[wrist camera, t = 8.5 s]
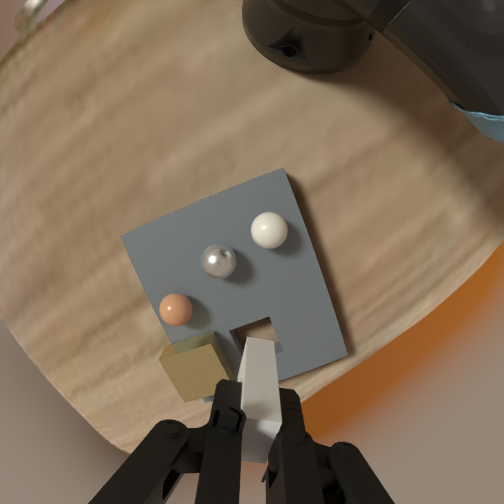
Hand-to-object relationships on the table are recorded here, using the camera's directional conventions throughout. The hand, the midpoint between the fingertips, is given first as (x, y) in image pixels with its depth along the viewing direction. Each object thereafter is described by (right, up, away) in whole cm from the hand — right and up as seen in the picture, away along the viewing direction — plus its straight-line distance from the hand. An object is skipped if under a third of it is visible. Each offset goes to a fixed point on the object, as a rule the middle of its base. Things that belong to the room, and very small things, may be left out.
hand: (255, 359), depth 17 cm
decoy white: (+1, +8, +12) cm, 15 cm away
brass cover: (-6, -6, +17) cm, 18 cm away
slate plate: (-2, +1, +18) cm, 18 cm away
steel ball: (-3, +5, +13) cm, 14 cm away
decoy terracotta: (-8, 0, +14) cm, 16 cm away
